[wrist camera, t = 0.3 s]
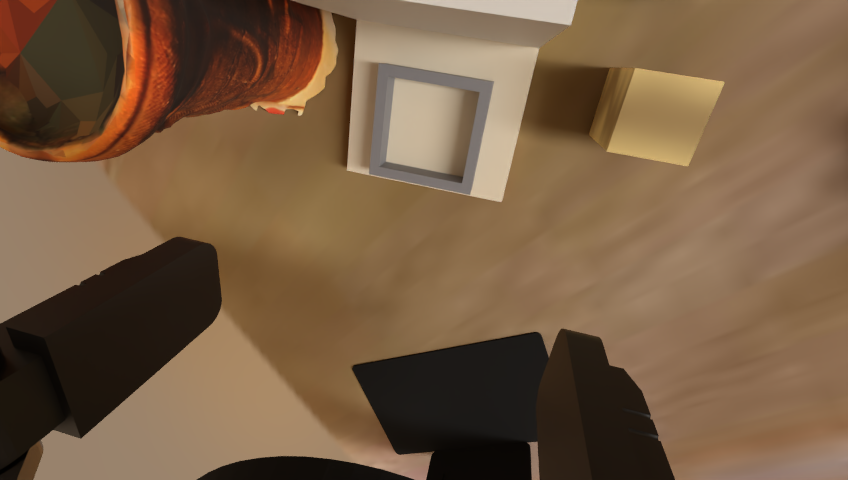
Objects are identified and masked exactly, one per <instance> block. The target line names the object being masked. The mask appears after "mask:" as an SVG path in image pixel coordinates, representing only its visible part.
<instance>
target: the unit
mask: <svg viewBox="0 0 848 480" xmlns="http://www.w3.org/2000/svg"><path fill="white" fill-rule="evenodd" d="M291 1H295V2H298V3H302V4H305V5H308V6H312V7H315V8H319V9H322V10H325V11H329V12H332V13H336V14H339V15H342V16H346V17H349V18H353V19H356V20H357V24H356V39H355V54H354V70H353V85H352V101H351V116H350V132H349V147H348V162H347V171H352V172H357V173H362V174H367V175H372V176H376V177H381V178H386V179H391V180H396V181H401V182H406V183H411V184H415V185H420V186H425V187H430V188H435V189H440V190H445V191H449V192H454V193H459V194H464V195H469V196H474V197H479V198H483V199H488V200H493V201H498V202H502V199H503V195H504V191H505V186H506V182H507V178H508V174H509V170H510V166H511V162H512V158H513V154H514V149H515V145H516V141H517V137H518V133H519V129H520V125H521V121H522V117H523V113H524V108H525V104H526V100H527V96H528V92H529V88H530V84H531V80H532V76H533V71H534V67H535V63H536V59H537V55H538V51H539V48H540V47H541V46H543V45H544V44H545V43H547V42H548V41H550V40H551V39H552V38H554V37H555V36H557V35H558V34H559V33H561V32H562V31H564V30H565V29H566V28H568V27H569V26H571V23H572V19H573V15H574V12H575V8H576V4H577V1H578V0H291Z"/></svg>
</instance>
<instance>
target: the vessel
mask: <svg viewBox="0 0 848 480" xmlns="http://www.w3.org/2000/svg"><path fill="white" fill-rule="evenodd" d="M335 35H336V29H335V25H334V22H333V18H332V13H331V12H329V11H325V10H322V9H319V8H315V7H312V6H308V5H305V4H302V3H298V2H295V1H291V0H0V147H1V148H3V149H5V150H7V151H9V152H12V153H14V154H17V155H20V156H22V157H26V158H31V159H36V160H42V161H50V162H90V161H100V160H105V159H109V158H114V157H118V156H120V155H122V154H124V153H126V152H128V151H130V150H131V149H133V148H135V147H136V146H138V145H139V144H141V143H143V142H144V141H145V140H147V139H148V138H149V137H150V136H151V135H152V134H153V133H154V132H157V133H158V132H162V131H163V130H164V129H166V128H169V127H171V126H172V125H173V124H174V123H175V122H177V121H178V120H180V119H181V118H183V117H195V116H200V115H205V114H212V113H216V112H220V111H222V110H227V109H230V110H237V109H242V108H246V107H247V106H249V105H250V106H251V107H252V108H253V109H254V110H256V111H257V108H258V105H259V106H261V107H262V108H264V109H265V110H266V111H268V112H269V113H274V114H284V113H285V110H286V109H294V110H297V111H298V116H299V115H302V113H303V110H304V107H305V104H306V101H307V100H309V99H310V98H312V97H313V96H315V95H317V94H318V93H319V92H321V91H322V90H323V89H324V88H325V78H326V76H327V75H329V74H330V73H331V72H332V70H333V69H334V67H335V66H336V57H337V54H338V47H337V44H336V42H335Z"/></svg>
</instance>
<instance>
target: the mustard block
mask: <svg viewBox="0 0 848 480" xmlns="http://www.w3.org/2000/svg"><path fill="white" fill-rule="evenodd" d="M724 83H725V82H721V81H715V80H709V79H702V78H696V77H689V76H683V75H677V74H670V73H664V72H658V71H651V70H645V69H638V68H610V69H609V72H608V75H607V78H606V82H605V85H604V88H603V91H602V94H601V97H600V100H599V104H598V107H597V110H596V113H595V116H594V119H593V122H592V126H591V129H590V132H589V136H591V137H592V138H593V139H594V140H595V141H596V142H597V143H598V144H599V145H600V146H601V147H602V148H604V149H605V150H606V151H607V152H613V153H618V154H624V155H629V156H635V157H640V158H645V159H651V160H656V161H662V162H667V163H673V164H678V165H684V166H688V165H689V163H690V161H691V158H692V156H693V154H694V152H695V149H696V147H697V145H698V142H699V140H700V138H701V136H702V133H703V131H704V129H705V127H706V124H707V122H708V120H709V117H710V115H711V113H712V111H713V108H714V106H715V104H716V101H717V99H718V97H719V95H720V92H721V90H722V88H723V85H724Z"/></svg>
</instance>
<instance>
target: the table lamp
mask: <svg viewBox="0 0 848 480" xmlns="http://www.w3.org/2000/svg"><path fill="white" fill-rule="evenodd" d="M548 360H549V357H548V354H547V351H546V348H545V345H544V342H543V339H542V336H541V334H540V333H537V332H534V333H529V334H523V335H518V336H513V337H507V338H502V339H496V340H491V341H485V342H480V343H474V344H469V345H463V346H458V347H452V348H447V349H441V350H436V351H431V352H425V353H420V354H414V355H409V356H403V357H398V358H392V359H387V360H381V361H376V362H370V363H365V364H360V365H355V366H353V368H352V369H353V372H354V374H355V375H356V377H357V379H358V381H359V383H360V385H361V387H362V389H363V391H364V393H365V395H366V396H367V398H368V400H369V402H370V404H371V406H372V408H373V410H374V412H375V414H376V416H377V418H378V419H379V421H380V423H381V425H382V427H383V429H384V431H385V433H386V435H387V437H388V439H389V441H390V442H391V444H392V446H393V448H394V450H395V452H396V453H397V454H400V455H401V454H411V453H422V452H432V451H435V452H434V453H433V454H432V456H431V460H430V465H429V470H428V474H427V479H426V480H532V475H531V452H530V445H529V444H528V443H526V442H537V441H538V439H537V421H536V402H537V394H538V389H539V385H540V382H541V379H542V376H543V373H544V371H545V368H546V365H547V362H548ZM197 480H414V479H411V478H408V477H405V476H401V475H398V474H395V473H392V472H388V471H385V470H382V469H377V468H373V467H369V466H365V465H360V464H356V463H350V462H344V461H338V460H332V459H323V458H314V457H297V456H278V457H265V458H256V459H251V460H245V461H239V462H235V463H232V464H229V465H225V466H222V467H220V468H218V469H216V470H213V471H211V472H208V473H207V474H205V475H204V476H202V477H200V478H199V479H197Z"/></svg>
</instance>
